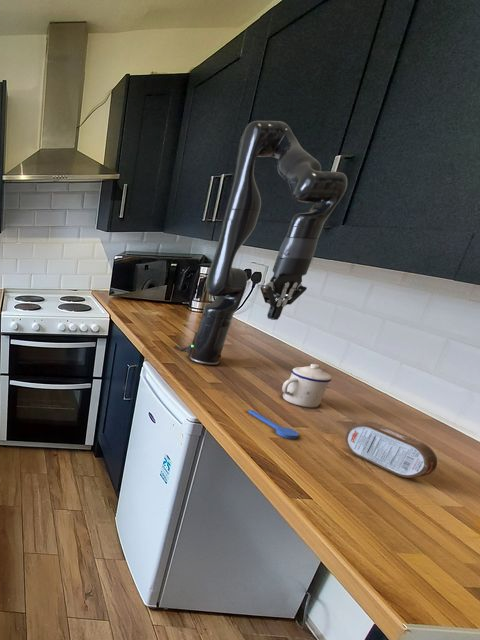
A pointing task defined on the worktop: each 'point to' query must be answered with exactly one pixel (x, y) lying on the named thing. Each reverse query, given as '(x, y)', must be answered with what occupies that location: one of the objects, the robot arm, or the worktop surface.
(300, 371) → the teacup with lid
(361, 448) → the tin
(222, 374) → the worktop surface
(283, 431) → the spoon
